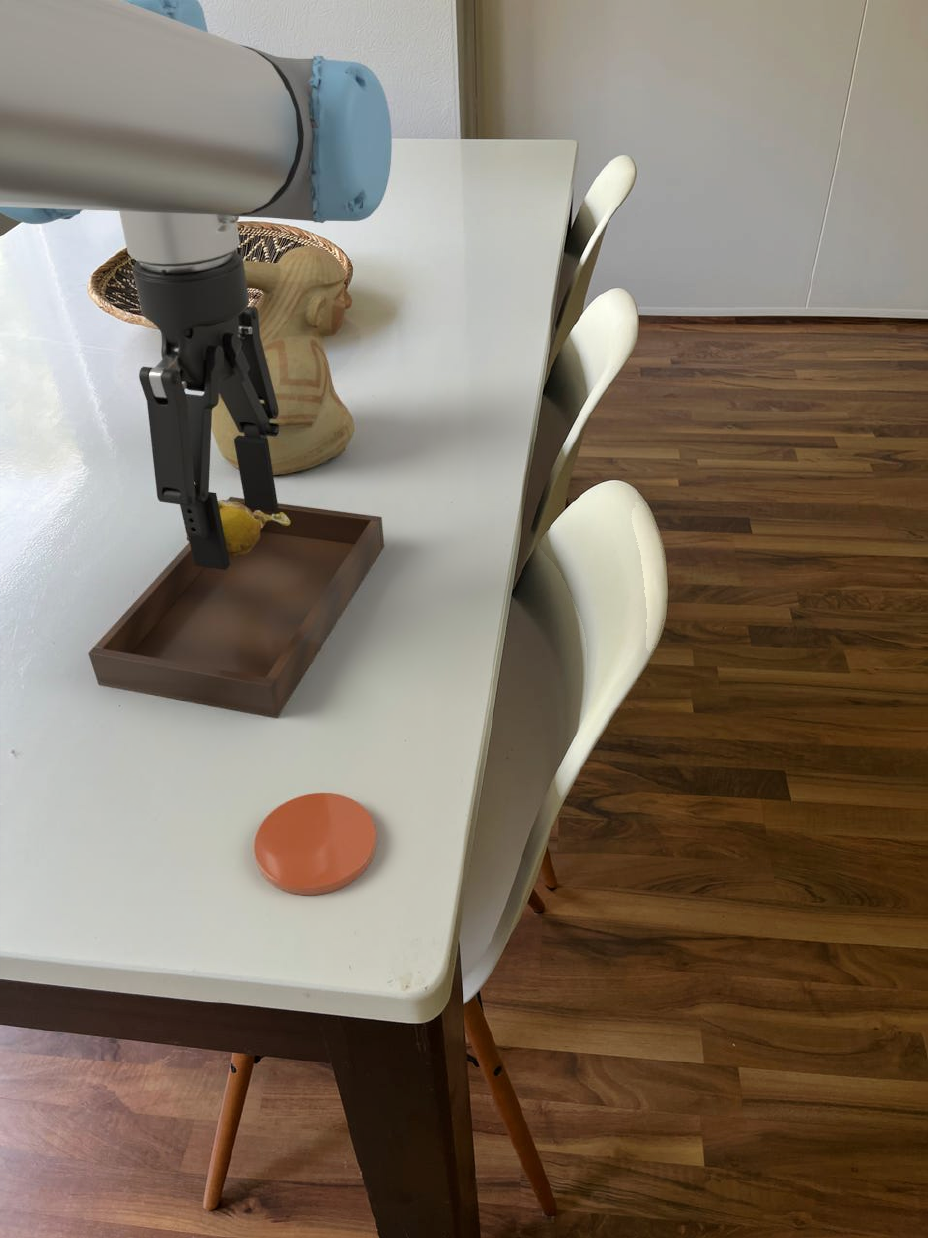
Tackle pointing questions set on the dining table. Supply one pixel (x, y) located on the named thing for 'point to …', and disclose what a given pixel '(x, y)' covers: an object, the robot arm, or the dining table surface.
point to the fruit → (244, 526)
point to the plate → (315, 844)
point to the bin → (243, 614)
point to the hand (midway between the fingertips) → (238, 534)
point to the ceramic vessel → (297, 359)
